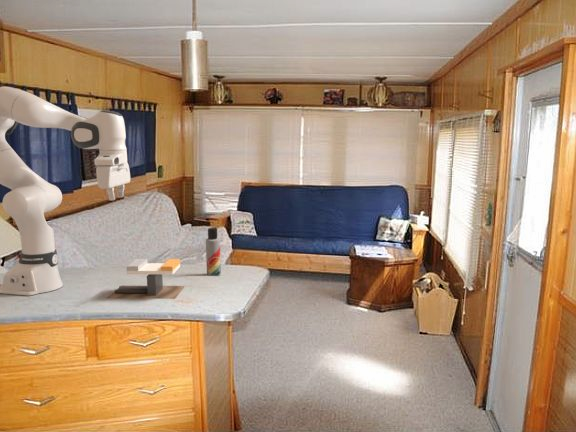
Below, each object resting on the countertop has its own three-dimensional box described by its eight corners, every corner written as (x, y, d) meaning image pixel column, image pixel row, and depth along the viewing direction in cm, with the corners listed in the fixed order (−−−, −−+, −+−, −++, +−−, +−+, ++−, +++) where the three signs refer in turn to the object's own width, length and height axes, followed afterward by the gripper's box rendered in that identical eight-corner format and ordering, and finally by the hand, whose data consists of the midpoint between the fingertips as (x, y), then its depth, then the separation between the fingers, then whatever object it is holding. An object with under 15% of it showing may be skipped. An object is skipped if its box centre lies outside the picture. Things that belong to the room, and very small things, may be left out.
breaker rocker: (126, 274, 169) (126, 266, 169) (137, 266, 179) (136, 258, 179) (172, 274, 168) (172, 266, 168) (180, 266, 178) (179, 259, 178)
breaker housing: (147, 295, 171) (146, 276, 170) (154, 288, 179) (153, 269, 178) (156, 295, 171) (155, 276, 170) (162, 288, 179) (162, 269, 178)
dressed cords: (114, 293, 173) (114, 290, 173) (120, 289, 178) (120, 285, 178) (148, 294, 173) (148, 290, 172) (153, 289, 178) (153, 285, 178)
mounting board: (106, 302, 169) (106, 298, 169) (121, 289, 183) (121, 285, 183) (175, 302, 168) (175, 298, 168) (185, 289, 182) (185, 285, 182)
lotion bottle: (218, 277, 197) (216, 228, 194) (204, 276, 198) (203, 228, 195) (222, 273, 202) (221, 226, 199) (209, 272, 204) (208, 225, 200)
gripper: (116, 157, 178) (119, 194, 180) (91, 160, 158) (94, 202, 160) (133, 157, 178) (135, 194, 180) (111, 160, 158) (113, 202, 160)
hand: (116, 198), depth 170 cm, fingers open, 6 cm apart
